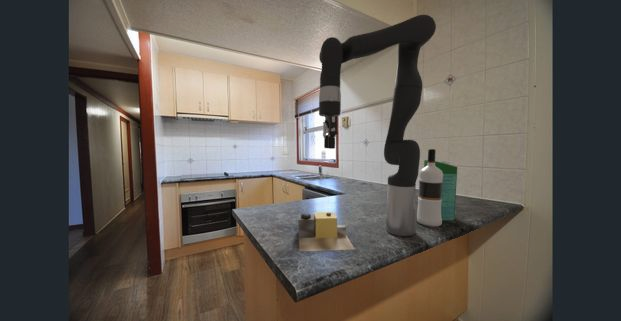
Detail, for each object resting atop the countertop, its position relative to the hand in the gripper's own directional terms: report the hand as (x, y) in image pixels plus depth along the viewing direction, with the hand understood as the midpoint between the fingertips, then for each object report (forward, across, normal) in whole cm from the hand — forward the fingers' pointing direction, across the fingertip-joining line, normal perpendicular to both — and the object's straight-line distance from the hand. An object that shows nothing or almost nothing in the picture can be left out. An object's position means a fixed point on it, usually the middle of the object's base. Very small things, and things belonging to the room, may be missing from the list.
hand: (329, 148), depth 73 cm
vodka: (+30, -5, +42) cm, 52 cm away
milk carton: (+30, -12, +51) cm, 61 cm away
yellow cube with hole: (+29, +5, -2) cm, 29 cm away
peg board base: (+30, +8, -3) cm, 31 cm away
